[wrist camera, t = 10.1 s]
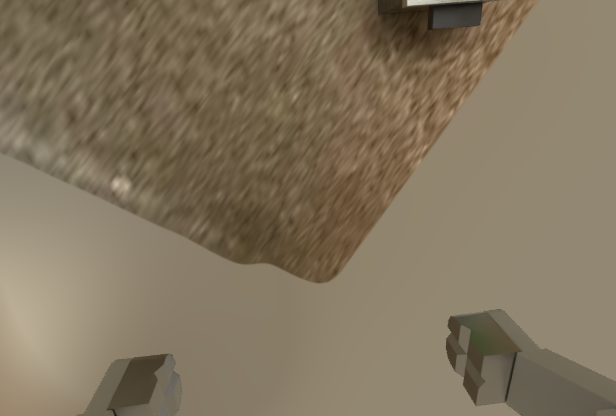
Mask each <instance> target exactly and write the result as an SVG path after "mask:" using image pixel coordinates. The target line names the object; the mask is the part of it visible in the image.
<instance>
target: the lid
mask: <svg viewBox="0 0 616 416" xmlns="http://www.w3.org/2000/svg"><path fill="white" fill-rule="evenodd" d="M487 1H500V0H403V1H402V8H409V7H422V6H435V5H448V4H461V3H474V2H487Z"/></svg>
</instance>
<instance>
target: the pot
mask: <svg viewBox="0 0 616 416" xmlns="http://www.w3.org/2000/svg"><path fill="white" fill-rule="evenodd" d="M402 1H403V0H378V15H381V14H394V13H407V12H419V11H429V12H428V30H434V29H446V28H459V27H471V26H478V25H480V22H481V13H482V3H486V2H474V3H461V4H448V5H435V6H422V7H409V8H402ZM487 2H489V1H487Z"/></svg>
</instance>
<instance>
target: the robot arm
mask: <svg viewBox="0 0 616 416" xmlns="http://www.w3.org/2000/svg"><path fill="white" fill-rule="evenodd" d="M448 328H449V329H450V331H451V334H450V335H449V336H448V337H447V338H446V350H447V356H448V359H449V361H450V364H451V365H452V367H453V369H454V371H455V372H456V373H458V374H460V375H461V376H463V377H464V382H463V386H464V387H465V389H466V391H467V392H468V394H469V395H470V397H471V399H472V400H473V402H474V404H475V405H476V406H480V405H488V404H495V403H505V402H506V404H507V405H508V406H509V407H511V408H512V409H513V410H515V411H516V412H517V413H519V414H520V415H521V416H616V381H613V380H611V379H609V378H607V377H605V376H603V375H601V374H599V373H597V372H594V371H592V370H590V369H588V368H586V367H584V366H582V365H580V364H578V363H576V362H573V361H571V360H569V359H567V358H565V357H563V356H561V355H559V354H556V353H554V352H552V351H550V350H548V349H540V348H539V347H538V346H537V345H536V344H535V342H534V341H532V339H531V338H530V337H529V336H528V335H527V334H526V333H525V332H524V331H523V330H522V329H521V328H520V327H519V326H518V325H517V324H516V323H515V322H514V321H513V320H512V319H511V318H510V317H509V316H508V314H507V313H506V312H505V311H503V310H501V309H496V310H489V311H483V312H477V313H469V314H462V315H456V316H451V317H450V318H449V320H448ZM174 367H175V360H174V358H173V355H172V354H161V355H152V356H143V357H134V358H128V359H118V360H115V361H114V362H113V363H112V364H111V365H110V367H109V369H108V370H107V372H106V374H105V376H104V378H103V379H102V381H101V383H100V385H99V387H98V389H97V391H96V392H95V394H94V396H93V398H92V400H91V402H90V403H89V405H88V407H87V409H86V411H85V412H84V414H79V415H77V416H174V415H175V414H176V413H177V412H178V411H179V407H180V403H181V395H182V386H181V380H180V377H179V374H177V373H176V372H174V371H173V370H174Z"/></svg>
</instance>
